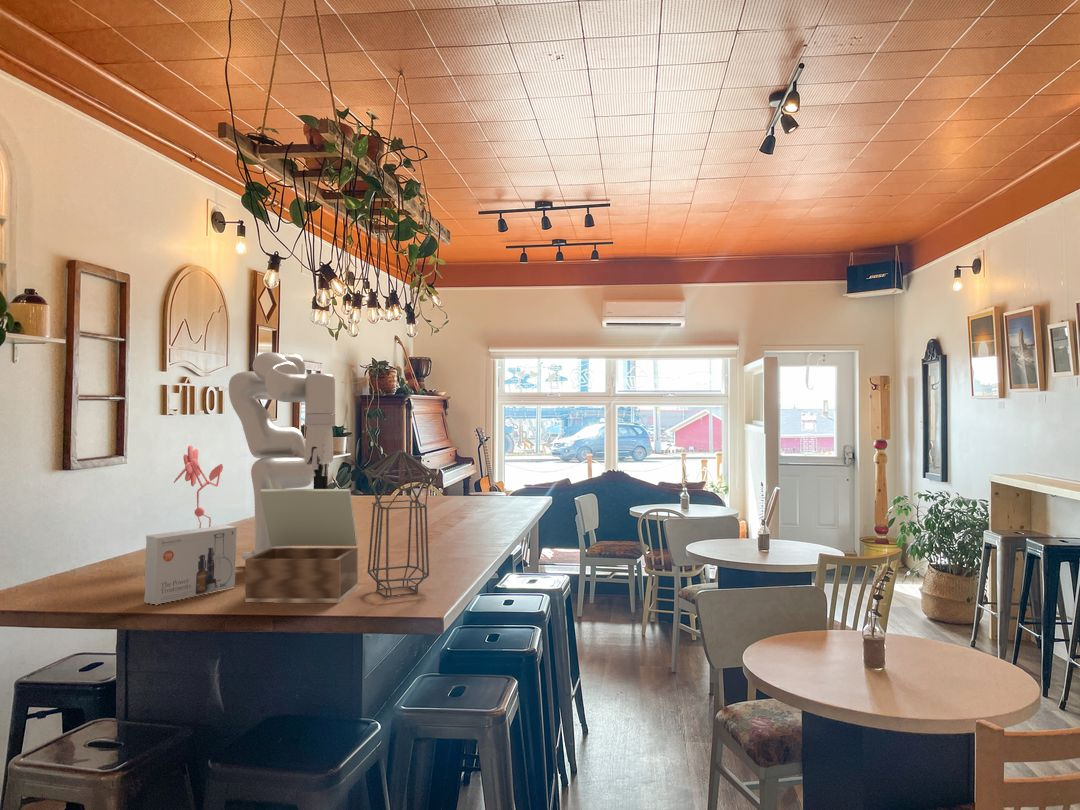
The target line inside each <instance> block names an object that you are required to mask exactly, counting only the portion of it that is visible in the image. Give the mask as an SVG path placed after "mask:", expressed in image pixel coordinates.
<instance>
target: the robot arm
mask: <svg viewBox="0 0 1080 810" xmlns="http://www.w3.org/2000/svg"><path fill="white" fill-rule="evenodd" d="M305 373H306V364H305V361H304V359H303V358H302V357H301V356H300V355H299V354H295V353H286V352H285V353H284V352H263V353H260V354H258V355H257V356H256V357H255V358H254V360H253V363H252V371H241V372H237V373H235V374H233V375H232V376H231V377H230V379H229V382H228V396H229V401H230V404H231V406H232V408H233V410H234V412H235V414H236V415H237V417H238V418H239V421H240V423H241V424H242V430H243V432H244V437H245V439H246V443H247V446H248V450H249V451H250V454H251V455H252V457H254V458H256V459H257V460H255V462H253V464H252V465H251V469H250V475H251V477H250V478H251V483H252V488H253V497H254V550H253V551H251V552H250V551H245V552H244V551H242V552H241V554H240V555H241V556H240V557H241V559H242V560H246V559H248V558H250V557H252V556H255V555H257V554H259V553H261V552H263V551H265V550H268V549H270V548H290V546H270V541H269V536H268V531H267V526H266V521H265V515H264V510H263V505H262V500H261V495H260V490H261V489H303V488H306V487H308V486H310V485H311V484H312V483H313V489H329V487H328V484H329V483H328V481H329V480H328V479H329V478H328V477H329V476H328V475H329V467H330V464H331V463H332V462H333V461H334V432H333V431H334V430H333V427H336V379H335V376H334V375H332V374H331V373H309V374H305ZM257 400H267V401H268V400H269V401H270V400H272V401H273V400H274V401H275V400H276V401H278V402H283V403H304V405H305V408H304V410H305V411H304V416H305V419H304V421H305V422H304V423H305V427H306V431H305V438H304V435H303V433H302V432H301V430H300V429H298V428H296V427H293V426H277V425H275V424H274V422H273V419H272V415H271V414H270V412H269V411H268V410H267V409H266V407H265V406H264V405H262V404H261V403H259V402H258V401H257Z"/></svg>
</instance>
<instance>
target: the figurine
mask: <svg viewBox="0 0 1080 810" xmlns="http://www.w3.org/2000/svg"><path fill="white" fill-rule="evenodd" d="M193 447H194V446H193V445H192V444H191V445H188V446H187V454H186V453H184V454H183V459H182V460H183V463H184V465H185V467H184V469H182V470H181V472H179V474H178V476H176V478H175V479H174V481H173V483H174V484H175V483H176V482H177V481H178V480H179V479H180V478H181V477H182V475H184V474H185V475H184V476H185V477H184V481H185V482H189V481H190V485H191V487H194V486H195V485H196V483H197V481H198V483H199V485H200V488H198V489H197V491H196V509H194V515H195V517H196V518H197V520H198V522H199V527H198V529H199V528H202V521H201V519H200V517H202V516H204V517H205V518H208V520H209V521H208V527H211V521H212V520H211V519H212V518H211V517H210V516H208V515H206V514H205V510H204V509H203V508H202V507H200V505H199V503H200V501H199V500H200V498H199V497H200V496H199V495H200V491H201V490H202V489H204V488H205V487H206V486H207V485H210V486H211V485H212V486H214V487H218V486H219V483H220V479H221V478H220V477H221V473H222V471H223V470H224V469H223V467H224V466H223V464H222V463H220V464H218V465H217V466H215V467H214V468H213V469H212V470H211V471H210V473H209V475H208V478H209V480H208V479H207V477H206V476H205V474H204V473H203V471H202V469H201V466H200V464H199V449H198V448H195V449H194V448H193ZM201 475H202V477H203V479H204V481H205V482H203V484H202V482H201V480H200V477H199V476H201ZM216 478H217V480H216V483H213V482H212V481H214V479H216Z"/></svg>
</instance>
